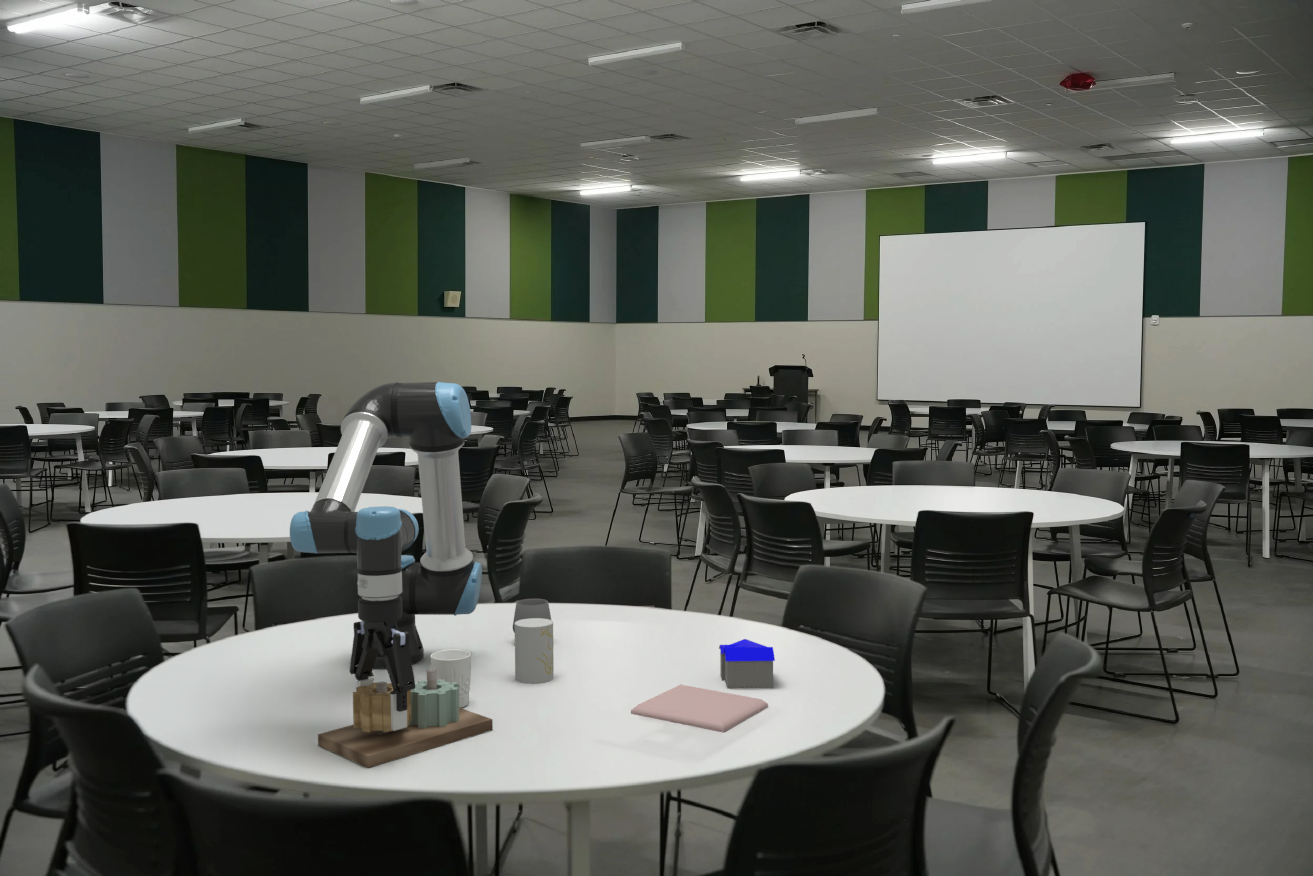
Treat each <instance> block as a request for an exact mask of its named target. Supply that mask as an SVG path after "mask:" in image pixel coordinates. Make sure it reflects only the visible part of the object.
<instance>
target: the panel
mask: <svg viewBox="0 0 1313 876" xmlns="http://www.w3.org/2000/svg"><path fill="white" fill-rule="evenodd" d="M768 707H769V703H768V702H766V701H765V700H763V699H762V698H758V697H751V696H748V695H747V696H745V695H741V694H735V693H728V692H724V691H718V690H712V689H708V688H707V689H706V688H702V687H696V686H690V685H685V684H679V685H677V686H675V687H672V688H670V689H667V690H666V691H664V692H661V693H659V694H658V695H656V696H653V697H651V698H649V699H647V700H645V701H643V702H641V703H638V704H637V705H636V706H634V707H633V708H632V709H630V714H631V715H636V716H641V717H645V718H651V719H656V720H661V721H666V722H669V723H675V724H681V725H685V726H691V727H695V728H700V729H705V730H710V731H713V732H714V731H715V732H719V733H720V732H721V733H725V732H727V731H729V730H730V729H733V728H734V727H736V726H737V725H739V724H741V723H742V722H745V721H746V720H747V719H750V718H751V717H753V716H755V715H756V714H757V715H758V713H759V712H761V711H764V710H765V709H767V708H768Z"/></svg>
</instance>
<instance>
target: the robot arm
mask: <svg viewBox="0 0 1313 876" xmlns="http://www.w3.org/2000/svg"><path fill="white" fill-rule="evenodd" d="M471 414H472V413H471V407H470V402H469V398H468V395H467V393H466V390H465V389H464V388H463V387H462V386H461V385H460V384H458V383H454V382H453V383H452V382H442V381H438V382H437V381H436V382H386V383H383V384H380V385H378V386H376V387H374V388H371V389H370V390H369V391H367V392H366V393H364V394H363V395H361V396H360V397H359V398H358V399H356V401H354V403H352V405H351V406H350V408H348V410H347V411H346V413H345V415H344V417H343V419H342V421H341V424H340V434H341V435H342V436H341V438H340V440H339V442H338V444H337V447H336V450H335V452H334V454H333V456H332V459H331V462H330V464H329V467H328V469H327V471H326V475H325V476H324V479H323V480H322V483H321V486H320V489H319V491H318V494H317V496H316V498H315V501H314V504H313V505H312V508H311V510H310V511H309V510H304V511H298V512H296V513H294V514H293V516H292V518H291V521H290V524H289V540H290V543H291V546H292V548H293V549H294V550H295V551H296V552H297V553H298V552H299V553H310V554H337V553H338V554H339V553H340V554H343V553H345V554H347V553H354V554H356V562H357V564H356V565H357V566H356V567H357V569H356V570H357V582H356V584H357V585H356V586H357V595H358V596H360V597H359V598H358V599H357V617H358V619H359V620H360V621H356V622H355V621H354V622H353V640H352V649H351V656H350V663H349V664H350V665H349V673H350V675H354V678H355V680H356V681H357V687H359V686H369V685H373V683H375V681H374V678H373V677H374V676H375V675H374V673H373V670H374V669H386V670H387V673H388V676H389V680H390V683H391V684H392V687H393V691H391V692H390V695H391V730H393V731H395V730H399V729H402V728H406V727H407V692H408V691H409V690H412V689H415V684H416V681H415V675H414V669H413V665H415V664H418V663H420V662H421V661H422V662H423V660H424V659H425V656H424V655H425V653H424V651H425V649H424V645H423V643H422V639H421V637H420V634H419V632H418V629H417V626H416V615H417V616H418V615H420V616H423V615H424V616H425V615H426V616H427V615H428V616H429V615H431V616H432V615H433V616H435V615H437V616H442V615H443V616H444V615H445V616H448V615H449V616H455V617H456V616H457V615H470V614H472V613H473V612H474V611H475V610H476V608H477V606H478V602H479V599H480V598H479V597H480V592H481V586H482V578H483V577H482V576H483V568H482V564H481V563H480V562H478V561H475V562H474V556H473V553H472V551H471V550H469V549H468V548H466V539H465V527H464V526H465V525H464V513H463V512H464V511H463V501H462V500H463V497H462V485H461V484H462V483H461V474H460V470H461V469H460V461H459V450H460V449H461V448H463V446H464V445H465V439H466V438H468V437H469V436H470V434H471V432H472V415H471ZM390 438H406V439H407V438H408V442H409V448H410V450H412V451H413V452H415V453H416V454H417V461H418V462H417V463H418V474H419V483H420V484H419V485H420V486H419V487H420V496H421V507H422V519H423V529H424V540H425V552H424V554H423V555H421V557H420V562H416V559H415V557H414V555H407V554H404V555H402V552H404V551H406V550H407V549H409V548H411V546H412V544H414V542H415V541H416V539H417V538H418V535H419V530H420V528H419V523H418V520H417V518H416V517H415V515H414V514H412V513H411V512H410V511H408V510H407V509H401V508H397V507H395V506H368V507H364V508H361V509H359V510H358V511H356V509H357V506H358V503H359V500H360V498H361V496H362V493H363V490H364V487H365V485H366V481H367V479H368V476H369V474H370V471H371V469H372V465H373V462H374V460H375V458H376V455H377V453H378V449H380V448H381V447H383V446H384V445H385V444H386V442H387V440H388V439H390ZM398 684H399V686H398Z"/></svg>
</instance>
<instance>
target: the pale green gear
mask: <svg viewBox="0 0 1313 876" xmlns="http://www.w3.org/2000/svg"><path fill="white" fill-rule="evenodd" d="M458 720H459V685H458V683H457V682H451V683H450V682H446V680H442V679H438V680H437V689H436V690H427V679H425V680H418V681H417V683H415V689H412V690H411V721H409V725H413V724H414V725H418V728H426V727H428V726H438V727H444V726H447V723H450V722H457V721H458Z"/></svg>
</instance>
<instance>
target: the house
mask: <svg viewBox="0 0 1313 876" xmlns="http://www.w3.org/2000/svg"><path fill="white" fill-rule="evenodd" d="M718 649H719V650H720V653H719V654H720V658H719V659H720V662H719V663H720V669H719V670H720V672H719V673H720V674H719V675H720V678H721V681H724V682H725V685H726V688H727V689H731V690H732V689H774V662H775V661H776V659H775V653H774V651H775V650H774V648H773V646H766V645H764V644H761V643H757V642H754V641H753V640H749V639H746V638H744V639H741V640H739V641H736V642H732V643H730V644H719V646H718Z"/></svg>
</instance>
